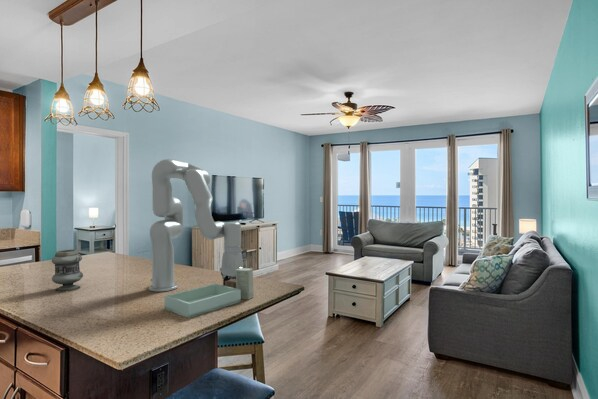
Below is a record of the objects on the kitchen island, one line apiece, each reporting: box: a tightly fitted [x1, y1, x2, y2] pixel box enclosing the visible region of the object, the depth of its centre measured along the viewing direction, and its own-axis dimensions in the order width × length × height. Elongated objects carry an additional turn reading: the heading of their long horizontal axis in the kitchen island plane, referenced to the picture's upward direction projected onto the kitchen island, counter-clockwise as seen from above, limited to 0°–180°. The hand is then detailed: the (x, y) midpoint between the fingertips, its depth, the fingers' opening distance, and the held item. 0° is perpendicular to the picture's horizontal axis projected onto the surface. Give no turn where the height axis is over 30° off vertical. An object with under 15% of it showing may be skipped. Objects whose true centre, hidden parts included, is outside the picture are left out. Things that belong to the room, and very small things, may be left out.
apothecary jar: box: [51, 248, 84, 293], centre depth 164 cm, size 12×12×18 cm
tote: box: [164, 283, 242, 319], centre depth 139 cm, size 16×24×5 cm, turn 141°
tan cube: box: [225, 279, 236, 288], centre depth 158 cm, size 5×5×5 cm
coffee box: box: [228, 248, 248, 280], centre depth 174 cm, size 9×6×16 cm
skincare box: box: [236, 267, 255, 300], centre depth 149 cm, size 6×4×12 cm
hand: (233, 288), depth 158 cm, fingers open, 8 cm apart
